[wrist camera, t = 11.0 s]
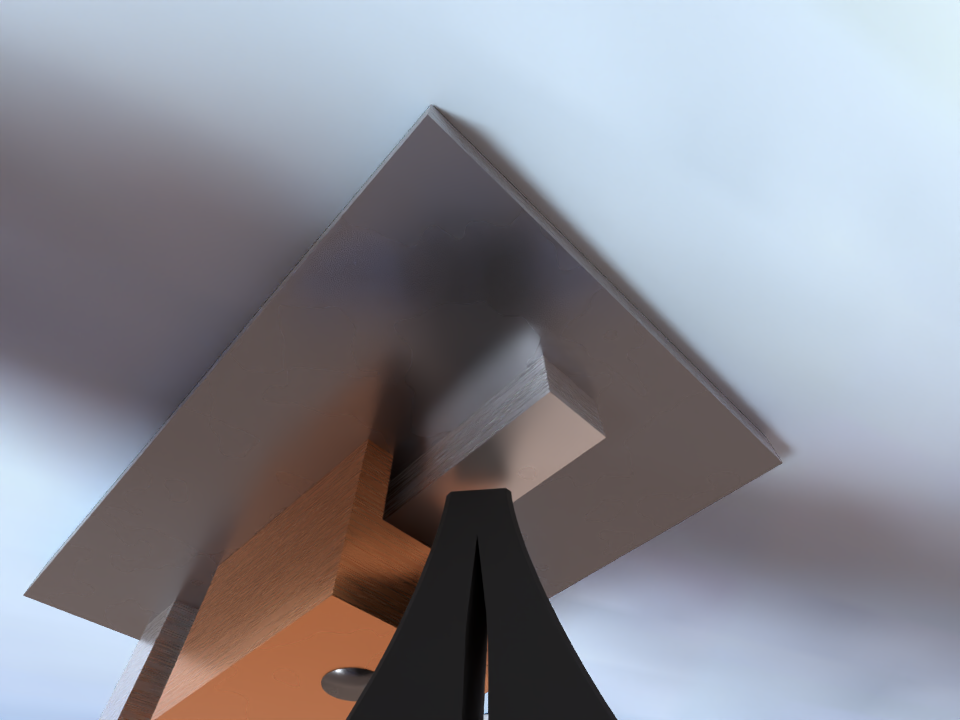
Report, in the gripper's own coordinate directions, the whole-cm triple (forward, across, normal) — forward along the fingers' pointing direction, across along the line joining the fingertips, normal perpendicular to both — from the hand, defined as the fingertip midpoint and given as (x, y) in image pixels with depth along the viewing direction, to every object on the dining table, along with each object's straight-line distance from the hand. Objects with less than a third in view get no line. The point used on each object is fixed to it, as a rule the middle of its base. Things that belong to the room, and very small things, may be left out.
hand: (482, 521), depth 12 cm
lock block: (+2, +4, +4) cm, 6 cm away
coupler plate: (+3, +3, +3) cm, 6 cm away
